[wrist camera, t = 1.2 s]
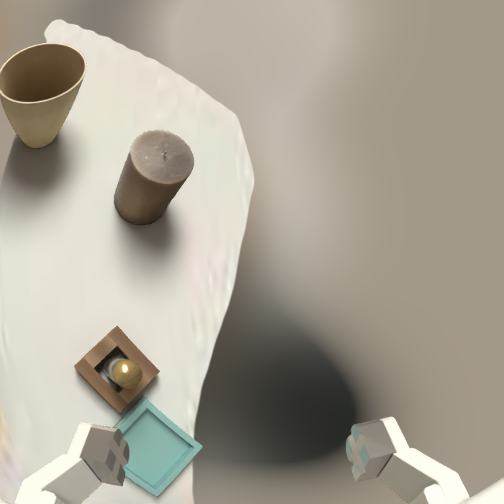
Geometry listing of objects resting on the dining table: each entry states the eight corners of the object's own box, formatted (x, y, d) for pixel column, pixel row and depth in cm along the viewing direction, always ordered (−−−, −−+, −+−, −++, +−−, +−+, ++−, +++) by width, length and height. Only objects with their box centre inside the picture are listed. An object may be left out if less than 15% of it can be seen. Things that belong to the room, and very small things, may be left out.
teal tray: (152, 491, 35) (157, 497, 33) (93, 446, 33) (95, 451, 31) (196, 442, 42) (202, 446, 40) (142, 396, 40) (146, 398, 38)
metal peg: (115, 384, 39) (128, 394, 29) (99, 367, 38) (106, 372, 29) (130, 369, 41) (148, 374, 31) (114, 352, 40) (127, 352, 31)
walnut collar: (116, 409, 37) (119, 412, 35) (74, 365, 36) (74, 366, 34) (154, 370, 43) (159, 371, 40) (114, 327, 42) (117, 325, 39)
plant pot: (35, 96, 43) (41, 34, 30) (88, 123, 48) (104, 61, 36) (-12, 147, 36) (-22, 83, 23) (45, 179, 41) (44, 117, 29)
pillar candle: (168, 224, 52) (204, 180, 41) (115, 226, 46) (134, 178, 35) (161, 177, 54) (193, 126, 43) (111, 176, 49) (131, 120, 37)
